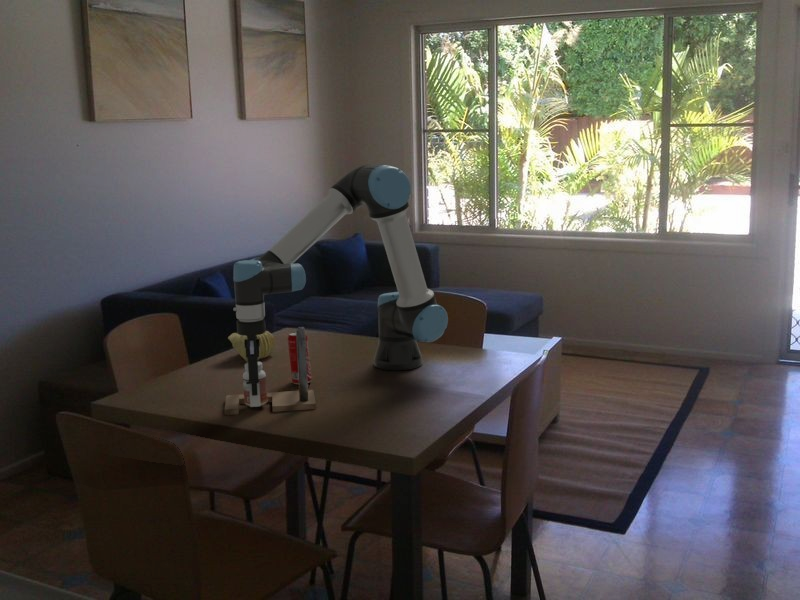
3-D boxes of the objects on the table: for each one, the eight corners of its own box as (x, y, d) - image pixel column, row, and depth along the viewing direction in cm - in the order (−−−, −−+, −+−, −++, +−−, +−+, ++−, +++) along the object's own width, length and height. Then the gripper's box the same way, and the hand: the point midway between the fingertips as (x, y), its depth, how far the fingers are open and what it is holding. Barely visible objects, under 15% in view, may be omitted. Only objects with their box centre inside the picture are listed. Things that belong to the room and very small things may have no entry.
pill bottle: (263, 398, 246) (261, 359, 244) (270, 404, 241) (268, 364, 239) (241, 402, 244) (239, 362, 242) (248, 408, 238) (245, 367, 236)
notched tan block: (313, 394, 253) (313, 389, 252) (316, 408, 240) (315, 403, 240) (226, 400, 249) (226, 395, 249) (224, 415, 237) (224, 409, 236)
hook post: (308, 404, 244) (304, 321, 240) (309, 413, 237) (305, 328, 232) (299, 404, 244) (295, 322, 240) (300, 413, 236) (296, 328, 232)
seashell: (283, 363, 297) (256, 346, 307) (286, 333, 294) (258, 317, 303) (241, 373, 285) (214, 356, 295) (244, 342, 282) (217, 326, 291)
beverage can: (308, 385, 262) (306, 335, 259) (287, 384, 263) (284, 335, 260) (314, 379, 267) (312, 330, 265) (293, 379, 269) (291, 330, 266)
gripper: (237, 312, 247) (242, 393, 251) (235, 327, 228) (240, 414, 233) (264, 310, 248) (269, 391, 252) (264, 325, 229) (269, 412, 234)
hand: (255, 402), depth 242 cm, fingers closed on pill bottle, 6 cm apart
